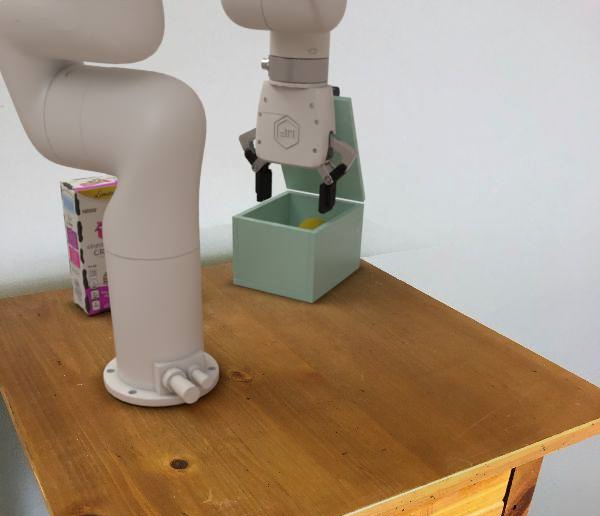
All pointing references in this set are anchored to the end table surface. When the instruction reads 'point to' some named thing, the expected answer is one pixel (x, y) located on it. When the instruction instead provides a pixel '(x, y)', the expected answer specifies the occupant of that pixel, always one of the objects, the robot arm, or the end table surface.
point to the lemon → (311, 223)
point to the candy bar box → (87, 239)
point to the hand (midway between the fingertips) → (294, 205)
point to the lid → (349, 182)
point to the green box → (296, 246)
